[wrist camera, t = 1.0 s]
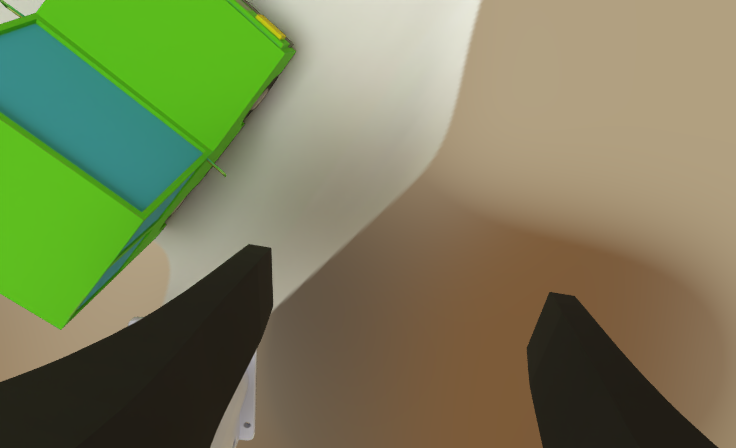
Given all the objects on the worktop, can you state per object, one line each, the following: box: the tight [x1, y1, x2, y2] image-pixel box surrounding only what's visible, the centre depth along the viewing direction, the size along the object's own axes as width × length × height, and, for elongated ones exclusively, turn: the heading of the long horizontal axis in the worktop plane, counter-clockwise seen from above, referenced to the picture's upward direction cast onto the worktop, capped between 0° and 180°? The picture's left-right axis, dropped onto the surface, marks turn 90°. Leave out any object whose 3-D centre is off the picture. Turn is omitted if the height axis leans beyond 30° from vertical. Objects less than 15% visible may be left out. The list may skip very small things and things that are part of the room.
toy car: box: [0, 0, 296, 330], centre depth 19 cm, size 10×13×10 cm
